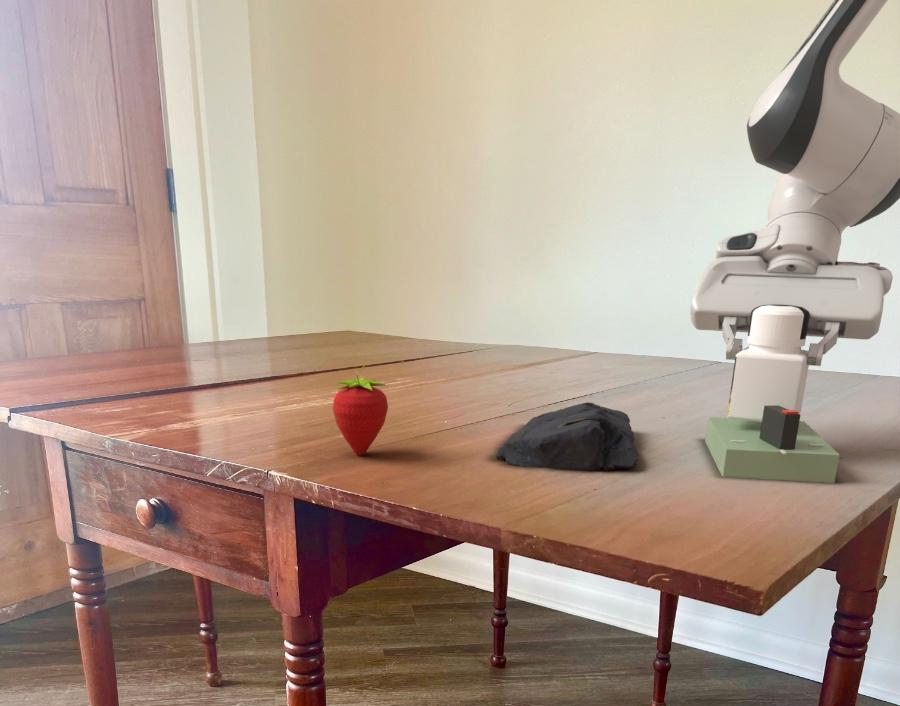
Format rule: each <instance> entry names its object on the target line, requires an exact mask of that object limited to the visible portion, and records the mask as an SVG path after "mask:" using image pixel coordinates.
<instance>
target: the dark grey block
mask: <svg viewBox="0 0 900 706" xmlns="http://www.w3.org/2000/svg"><path fill="white" fill-rule="evenodd" d="M798 413H799V412H798V411H795V410H788V409H786V408H783V407H781V406H779V405H773V406H764V411H763V418H762V424H761V430H760V437H759V438H760V439H762V440H763V441H765V442H767V443H769V444H771V445H773V446H775V447H777V448H779V449H795V444H796V439H797V433H798V427H799V421H801V413H800V414H798Z"/></svg>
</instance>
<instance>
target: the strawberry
mask: <svg viewBox="0 0 900 706" xmlns="http://www.w3.org/2000/svg"><path fill="white" fill-rule="evenodd" d="M366 365H367V363H365V364H363V366H362V367H361V368H360V370H359V371H358V372H357V373H356V379H345V380H338V381H336V384H343V385H342V386H340V387H337V390H339V391H337V393H336V394H335V396H333V401H332V402H333V403H332V412H333V416H334V420H335V423H336V426H337V428H338V430H339V431H340V433H341V435H342V436H343V438H344V440H345V441H346V443H347V444H348V445H349V447H350V448H351V450H352V452H353V453H354V454H355V455H356V456H358V457H363V456H364V455H366V453H367V452H368V450H369V448H370V447H371V445H372V444H373V442H374V441H375V440H376V439H377V437H378V435H379V434H380V431H381V429H382V428H383V427H384V425H385V422H386V418H387V415H388V414H387V413H388V409H389V405H388V398H387V396H386V394H385V393H384V391H383V390H382V389H379V388H377V387H380V386H381V387H382V386H383V387H385V386H386V384H385V383H381V382H378V381H376V379H375V380H374V379H366V378H362V377H359V374H360V372H361V371H362V370H363V369H364V368H365V366H366Z"/></svg>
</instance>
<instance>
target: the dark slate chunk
mask: <svg viewBox="0 0 900 706" xmlns="http://www.w3.org/2000/svg"><path fill="white" fill-rule="evenodd" d="M630 423H631V420H630V417H629V415H628V414H627V413H625V412H624V411H621V410H617V409H611V408H608V407H605V406H601V405H600V404H596V403H594V402H590V401H589V402H588V401H587V402H582V403H577V404H575V405H571V406H568V407H564V408H560V409H557V410H553V411H549V412H545V413H542V414H540V415H537V416H534V417H532V418H531V419H530V420H529V421H528V422H527V423H526V424H525V425H524V426H523V427H522V428H521V429H519V430H517V431H516V432H514V433H513V434H511V436H510V437H509V438H508V439H507V440H506V441H505V442H504V443H503V444H502V445H501V447H499V449H498V451H497V453H496V454H495V458H496V459H498V460H499V461H502V462H506V464H507V465H508V466H513V467H521V468H540V469H541V468H544V469H551V470H560V471H578V472H594V471H604V472H607V471H608V472H609V471H616V470H629V469H631V468H633V467H635V466H637V464H638V458H639V454H638V449H637V448H636V445H635V442H634V441H635V440H636V438H635V433H634V431H633V430H632V426H631V424H630Z"/></svg>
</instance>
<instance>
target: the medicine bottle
mask: <svg viewBox="0 0 900 706" xmlns="http://www.w3.org/2000/svg"><path fill="white" fill-rule="evenodd" d="M809 317H810V313H809V311H808V310H806V309H804V308H803V307H799V306H792V305H776V304H774V305H761V306H758V307H756V308H754V309H753V310H752V311H751V317H750V324H749V330H748V333H747V337H746V338H747V339H746V343H747V344H749V345H748V346H747V347H745V348H742V351H740V352H739V353H738V354H736V356H735V360H734V365H733V371H732V377H731V386H730V393H729V399H728V406H727V414H726V418H729V419H736V420H746V421H756V422H762V418H763V411H764V406H773V405H779V406H781V407H783V408H786V409H788V410H795V411H798V412H799V413H798V414H800V415H801V413H802V407H803V401H804V395H805V390H806V385H807V380H808V379H807V377H808V373H809V367H810V365H807V355H808V351H809V350H806V349H802V347H805V345H806V341H807V336H806V335H807V329H808V323H809Z"/></svg>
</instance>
